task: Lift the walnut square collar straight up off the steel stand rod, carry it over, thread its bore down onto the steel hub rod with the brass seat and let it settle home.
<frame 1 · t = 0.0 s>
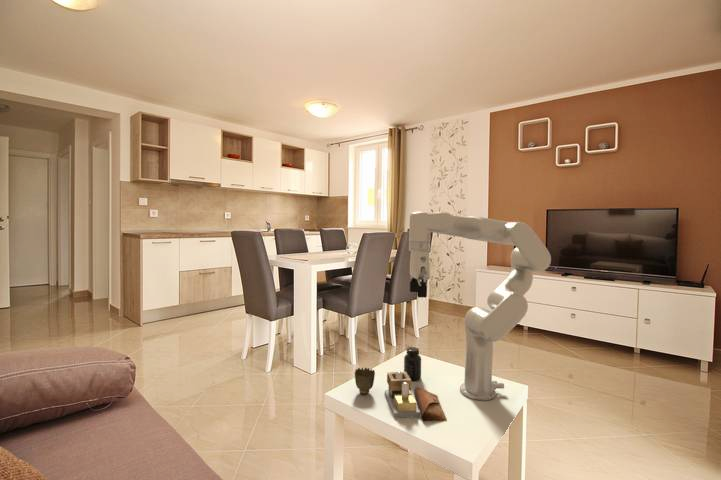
hand: (417, 294, 128), 37 cm above the table, tool pointing down, fingers open, 9 cm apart
stand rod: (398, 398, 126), resting on parts board
parts board: (401, 404, 122), on the table
cup: (364, 393, 130), on the table
hub: (404, 411, 118), resting on parts board
sunglasses case: (429, 409, 121), on the table
collar: (398, 385, 126), point 4 cm above the table, touching stand rod
supplement bottle: (412, 378, 144), on the table
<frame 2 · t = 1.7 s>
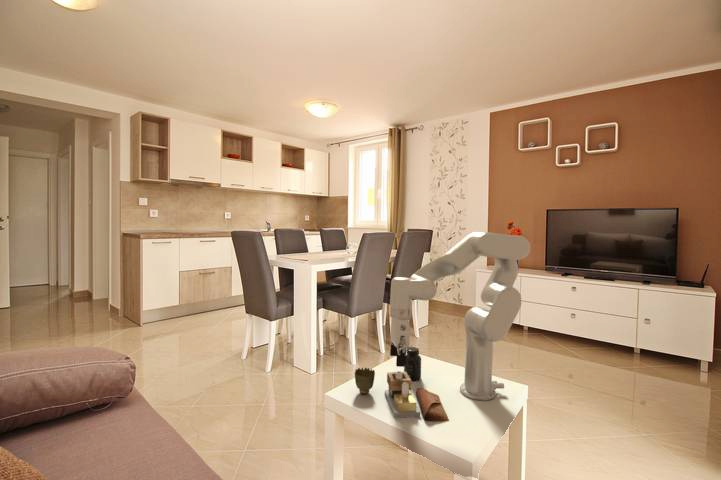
hand: (397, 360, 126), 14 cm above the table, tool pointing down, fingers open, 9 cm apart
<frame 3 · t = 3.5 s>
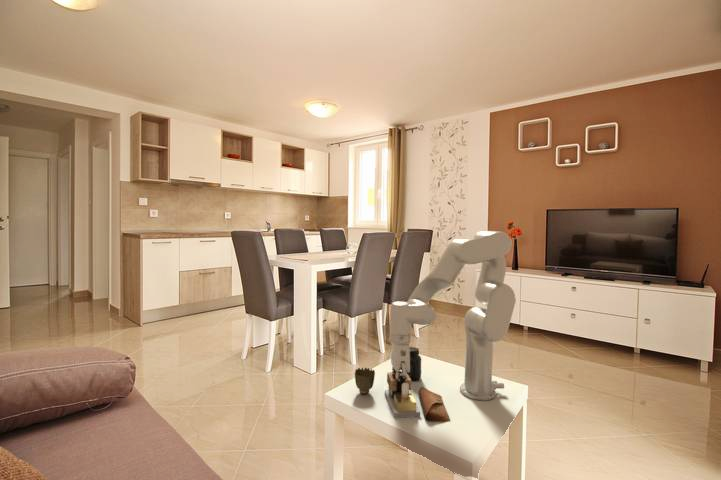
hand: (398, 386, 126), 4 cm above the table, tool pointing down, fingers closed on collar, 7 cm apart
collar: (398, 385, 126), point 5 cm above the table, touching gripper, stand rod
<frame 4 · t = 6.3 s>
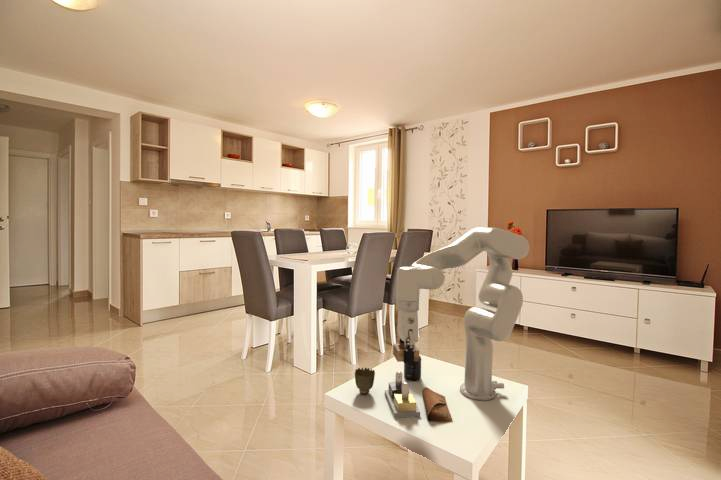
hand: (405, 358, 117), 18 cm above the table, tool pointing down, fingers closed on collar, 7 cm apart
collar: (405, 357, 117), point 18 cm above the table, touching gripper
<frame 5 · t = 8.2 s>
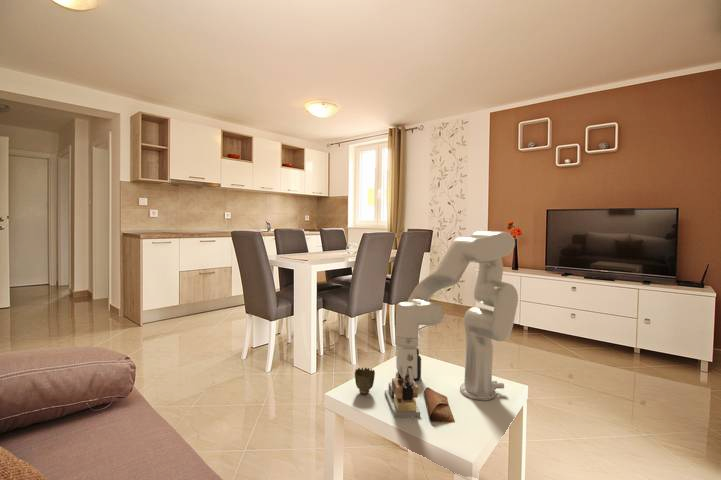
hand: (404, 393, 117), 6 cm above the table, tool pointing down, fingers closed on collar, 7 cm apart
collar: (404, 392, 117), point 6 cm above the table, touching gripper
when the fingers open (5 cm above the table, at t = 9.5 s): collar stays where it is, resting on hub.
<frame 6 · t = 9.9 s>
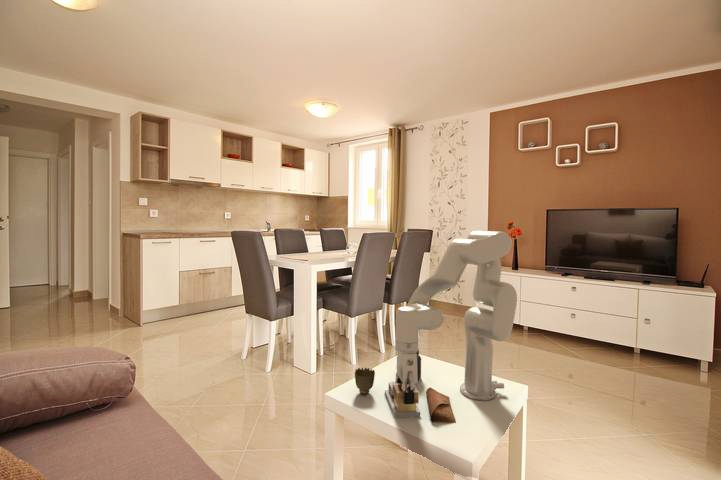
hand: (405, 396, 117), 5 cm above the table, tool pointing down, fingers open, 9 cm apart
collar: (405, 398, 117), point 4 cm above the table, touching hub
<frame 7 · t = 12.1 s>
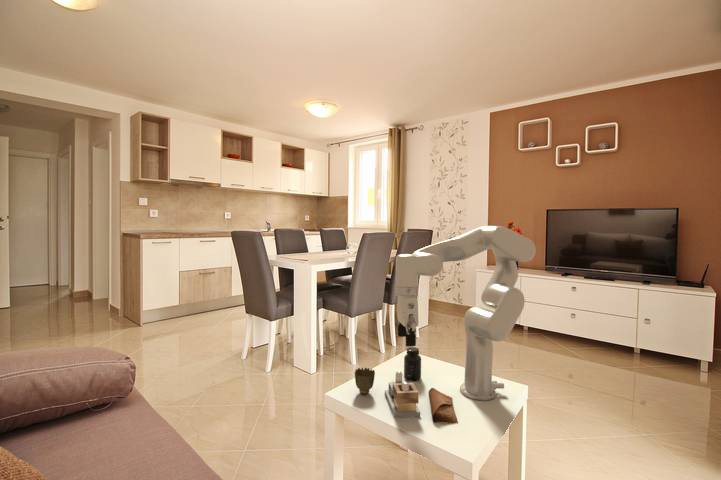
hand: (406, 341, 121), 22 cm above the table, tool pointing down, fingers open, 9 cm apart
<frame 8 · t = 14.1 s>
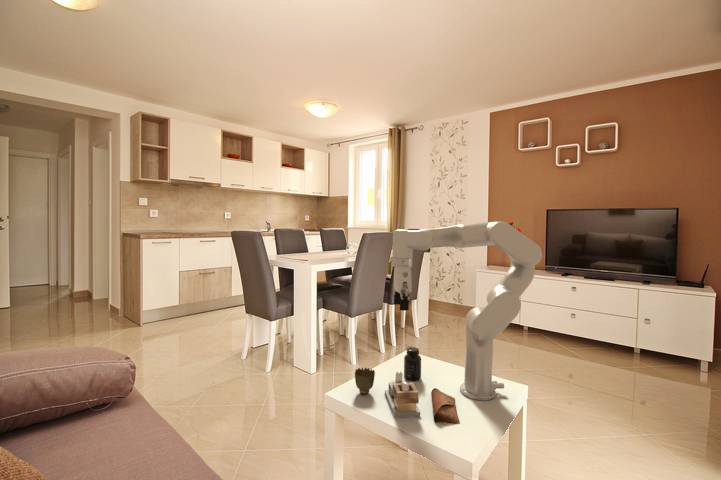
hand: (400, 307, 135), 30 cm above the table, tool pointing down, fingers open, 9 cm apart
at the end: collar 0.0 cm off-centre on the hub, point 4.5 cm above the hub's base; collar tilted 0°; the gripper is holding nothing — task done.
